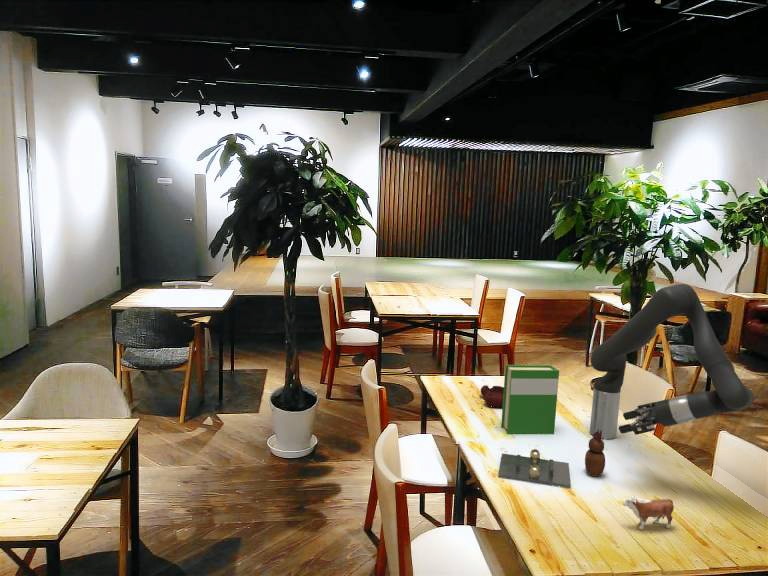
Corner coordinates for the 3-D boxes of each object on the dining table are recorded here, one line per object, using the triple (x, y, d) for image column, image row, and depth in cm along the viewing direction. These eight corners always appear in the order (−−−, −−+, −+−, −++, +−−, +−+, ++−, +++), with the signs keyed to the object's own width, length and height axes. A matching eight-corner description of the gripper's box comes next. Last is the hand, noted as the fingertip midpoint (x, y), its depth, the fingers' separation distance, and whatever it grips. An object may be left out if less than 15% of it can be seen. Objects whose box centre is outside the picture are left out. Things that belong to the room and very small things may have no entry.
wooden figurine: (605, 479, 176) (609, 432, 174) (585, 477, 177) (589, 430, 175) (601, 470, 182) (605, 424, 180) (582, 467, 183) (586, 422, 181)
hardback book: (507, 434, 209) (512, 370, 206) (501, 426, 216) (505, 364, 213) (554, 434, 211) (559, 370, 208) (546, 426, 218) (551, 365, 215)
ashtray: (525, 411, 235) (526, 399, 235) (485, 409, 236) (486, 397, 235) (515, 397, 253) (516, 386, 252) (478, 395, 253) (479, 384, 253)
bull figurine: (618, 521, 151) (621, 492, 150) (667, 521, 152) (670, 492, 151) (627, 530, 147) (630, 500, 146) (676, 530, 148) (680, 500, 147)
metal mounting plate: (501, 456, 190) (502, 444, 189) (568, 465, 184) (569, 454, 184) (498, 477, 174) (499, 464, 174) (570, 488, 169) (571, 475, 168)
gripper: (672, 388, 174) (620, 402, 183) (667, 410, 162) (612, 423, 171) (683, 410, 174) (630, 422, 183) (679, 434, 162) (623, 445, 172)
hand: (621, 423), depth 177 cm, fingers open, 8 cm apart
